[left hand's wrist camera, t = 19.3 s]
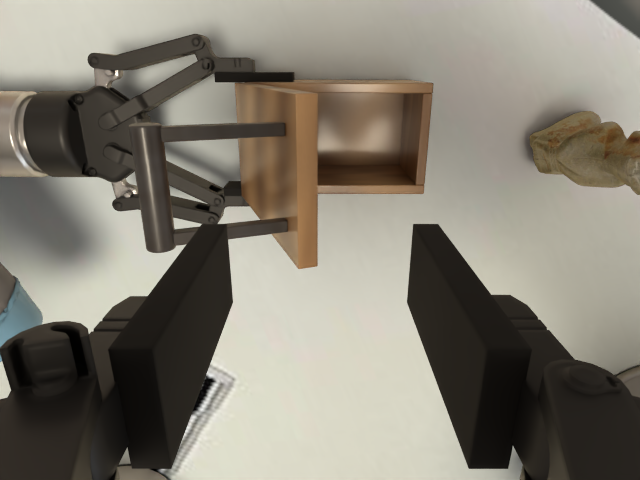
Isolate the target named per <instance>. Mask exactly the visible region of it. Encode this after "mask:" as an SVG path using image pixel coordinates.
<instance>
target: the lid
mask: <svg viewBox="0 0 640 480" xmlns="http://www.w3.org/2000/svg"><path fill="white" fill-rule="evenodd" d="M235 93H236V110H237V123H229V124H202V125H176V126H162V125H161V124H160V123H134V124H130V125H129V134H130V141H131V147H132V154H133V161H134V168H135V174H136V181H137V188H138V195H139V202H140V208H141V215H142V222H143V229H144V235H145V242H146V249H147V250H148V251H149V252H153V253H162V252H167V251H170V250H173V249H174V248H175V247H176V245H185V244H188V242H189V241H190V240H191V238H192V237H193V236H194V234H195V233H196V232H197V230H198V229H199V228H200V227H193V228H184V229H175V230H174V222H173V214H172V206H171V197H170V189H169V181H168V173H167V164H166V156H165V148H164V142H176V141H196V140H216V139H237V138H238V142H239V158H240V174H241V190H242V197H243V198H244V199H245V200H246V202H247V203H248V204H249V206H250V207H251V208H252V210H253V211H254V212H255V213H256V215H257V216H258V217H259V219H260V220H256V221H247V222H238V223H229V224H227V235H228V239H234V238H242V237H250V236H258V235H267V234H272V235H273V237H274V238H275V239H276V241H277V242H278V243H279V244H280V246H281V247H282V248H283V250H284V251H285V252H286V253H287V255H288V256H289V257H290V259H291V260H292V261H293V262H294V264H295V265H296V266H297V268H298V269H302V268H309V267H315V266H317V159H318V94H317V93H312V92H305V91H299V90H292V89H286V88H279V87H273V86H266V85H260V84H253V83H235Z"/></svg>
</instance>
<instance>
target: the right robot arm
mask: <svg viewBox="0 0 640 480" xmlns="http://www.w3.org/2000/svg"><path fill="white" fill-rule="evenodd" d="M191 54H195V55H196V57H197V60H198V61H197V62H196V63H194V64H192V65H190V66H189V67H187V68H185V69H184V70H182V71H180V72H178V73H177V74H175V75H173V76H172V77H170V78H168V79H166V80H165V81H163V82H161V83H160V84H158V85H156V86H154V87H153V88H151V89H149V90H148V91H146V92H144V93H142V94H141V95H138V96H136V97H134V98H132V99H131V100H130V99H128V98H127V97H125V96H124V95H123V94H121V93H120V92H118V91H117V90H115V89H114V88H112V87H111V85H112V82H113V81H114V80H118V79H121V78H122V76H123V70H135V69H139V68H143V67H146V66H150V65H154V64H158V63H161V62H165V61H169V60H173V59H176V58H180V57H184V56H188V55H191ZM88 63H89V65H90V66H91V67H93V68H94V72H95V86H94V87H92V88H91V89H89V90H87V91H42V92H39V93H36V92H33V91H0V176H2V177H45V176H48V175H49V176H52V177H100V178H103V179H105V180H107V181H109V182H112V186H113V189H114V193H115V196H116V199H115V200H114V201H113V203H112V206H113V208H114V209H115V210H117V211H127V210H136V209H139V210H141V208H140V202H139V195H138V188H137V186H136V185H131V184H129V183H128V182H127V181H126V178H127V177H128V176H129V175H130V174H132V173H133V172H134V171H135V168H134V161H133V154H132V147H131V141H130V134H129V125H130V124H134V123H151V120H150V116H147V114H146V113H147V112H149V111H150V110H152V109H154V108H156V107H157V106H158V105H160V104H161V103H163V102H165V101H167V100H168V99H170V98H172V97H174V96H175V95H177V94H179V93H181V92H182V91H184V90H186V89H188V88H189V87H191V86H193V85H195V84H196V83H198V82H200V81H201V80H203V79H205V78H207V77H208V76H210V75H212V74H215V82H294V72H255V61H254V60H252V59H250V58H219V57H217V56H216V55H215V54H214V53H213V51H212V48H211V46H210V41H209V39H208V38H207V37H205V36H202V35H198V34H193V35H189V36H185V37H181V38H178V39H174V40H170V41H167V42H163V43H159V44H156V45H152V46H148V47H144V48H141V49H137V50H133V51H130V52H126V53H122V54H119V55H113V54H103V53H91V54H90V55H89V56H88ZM166 164H167V173H168V181H169V185H170V186H172V187H174V188H176V189H178V190H181V191H183V192H185V193H187V194H189V195H191V196H193V197H195V198H197V199H199V200H202V201H204V202H206V203H208V204H205V203H201V202H196V201H192V200H188V199H183V198H179V197H175V196H170V197H171V206H172V214H173V217H174V218H179V219H183V220H188V221H192V222H197V223H201V224H218V222H219V220H220V219H221V217H222V216H223V214H224V213H223V212H224V209H225V207H228V206H249V204H248V203H247V202H246V200H245V199H244V198H243V197H242V190H241V181H229V182H228V183H227V184H226V186H225V187H224V188H222V187H220V186H218V185H215V184H213V183H211V182H209V181H207V180H205V179H203V178H201V177H199V176H197V175H195V174H193V173H191V172H189V171H187V170H185V169H182V168H180V167H178V166H176V165H174V164H172V163H170V162H168V161H166ZM42 320H43V317H42V313H41V311H40V310H39V309H38V307H37V306H36V305H35V303H34V302H33V301H32V299H31V298H30V297H29V295H28V294H27V293H26V291H25V290H24V289H23V287H22V286H21V285H20V282H19V281H18V278H16V277H15V276H12V275H11V274H10V272H9V271H8V270H7V269H6V268H5V267H4V266H3V265H2V264H1V263H0V347H1V346H2V345H3V344H4V343H5V342H6V341H7V340H8V339H10V338H12V337H13V336H15V335H17V334H18V333H20V332H22V331H25V330H27V329H30V328H32V327H35V326H38V325H42ZM1 361H2V358H1V355H0V362H1Z"/></svg>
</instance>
